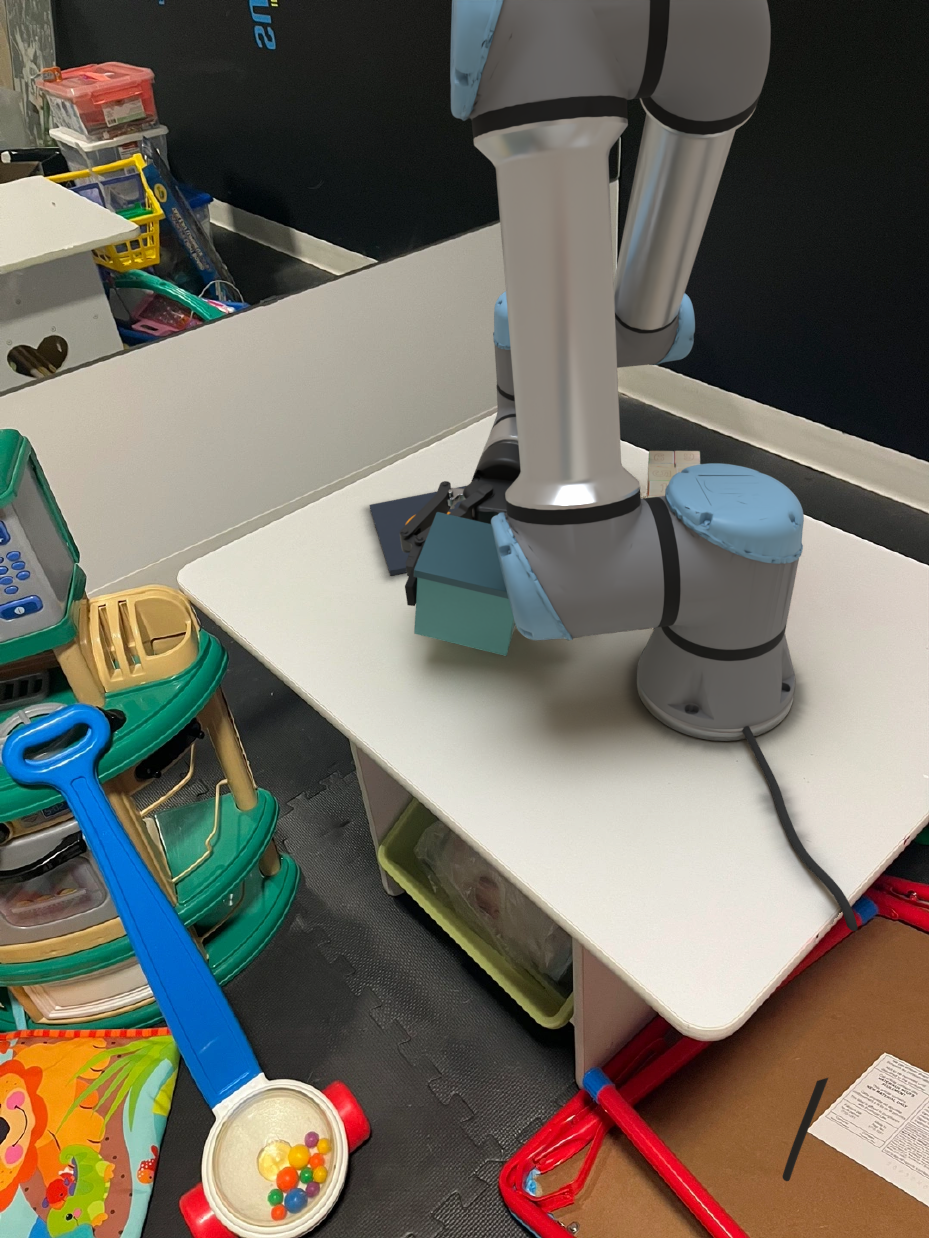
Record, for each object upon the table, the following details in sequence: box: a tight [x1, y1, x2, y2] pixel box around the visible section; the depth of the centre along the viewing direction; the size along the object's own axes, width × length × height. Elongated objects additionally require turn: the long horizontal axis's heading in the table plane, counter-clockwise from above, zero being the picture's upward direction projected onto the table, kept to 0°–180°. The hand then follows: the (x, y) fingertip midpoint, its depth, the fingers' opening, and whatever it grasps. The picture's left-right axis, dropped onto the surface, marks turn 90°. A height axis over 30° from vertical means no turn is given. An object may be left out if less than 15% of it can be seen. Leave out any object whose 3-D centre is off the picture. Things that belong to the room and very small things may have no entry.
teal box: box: [413, 512, 516, 657], centre depth 94 cm, size 9×11×10 cm
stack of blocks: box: [646, 450, 701, 498], centre depth 105 cm, size 21×6×12 cm, turn 170°
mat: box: [369, 485, 467, 577], centre depth 118 cm, size 16×14×1 cm
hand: (464, 604), depth 90 cm, fingers closed on teal box, 10 cm apart
